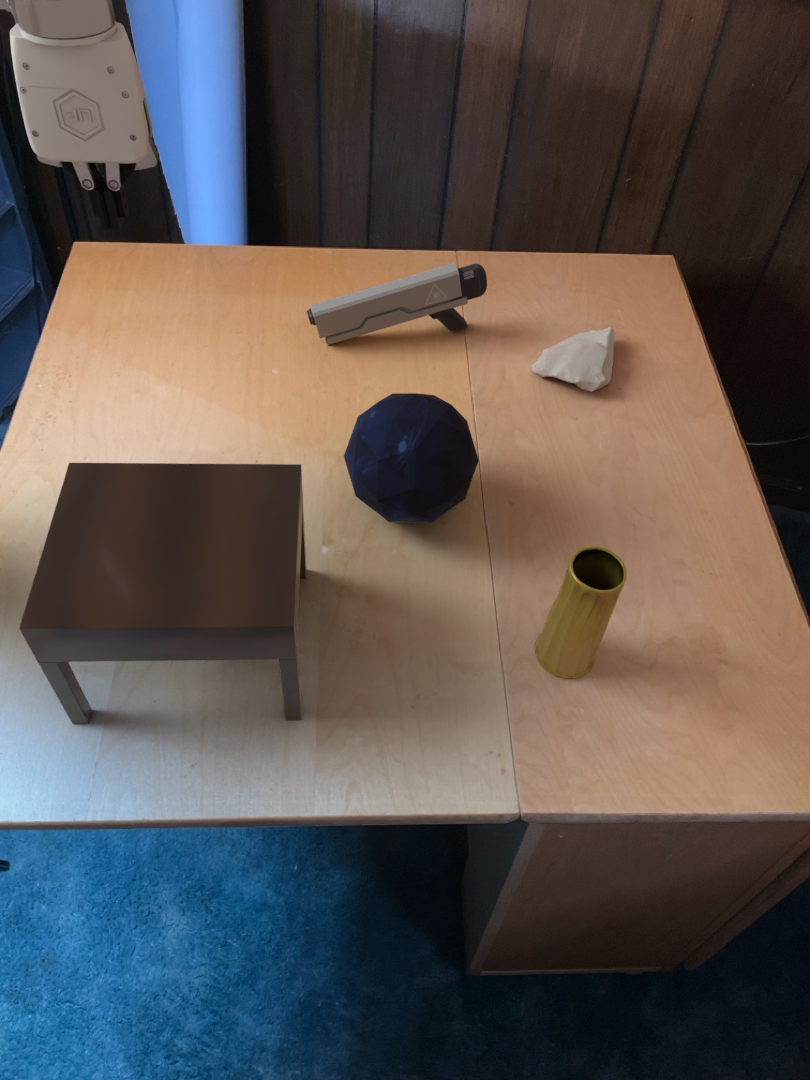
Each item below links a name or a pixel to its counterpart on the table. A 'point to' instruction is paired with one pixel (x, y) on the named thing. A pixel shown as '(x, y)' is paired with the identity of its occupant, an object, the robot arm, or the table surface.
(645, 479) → the table surface
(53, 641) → the miniature coffee table
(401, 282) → the gun
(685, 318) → the table surface
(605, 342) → the stone
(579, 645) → the vase
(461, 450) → the decorative orb
